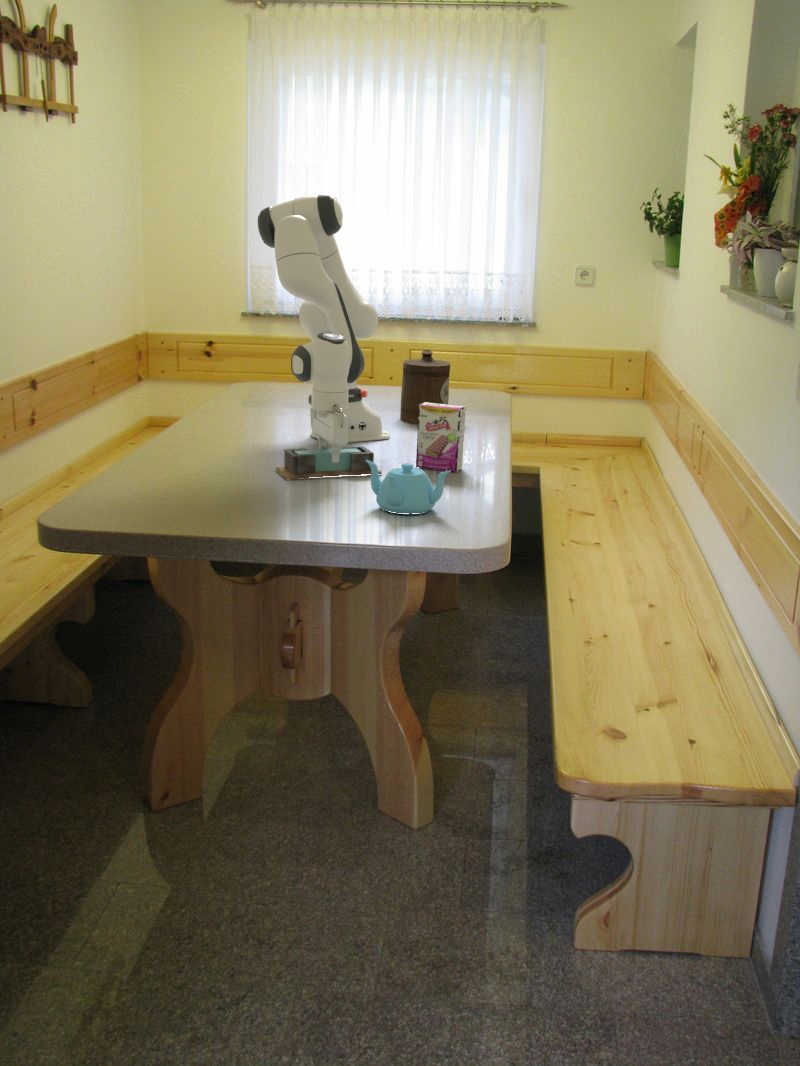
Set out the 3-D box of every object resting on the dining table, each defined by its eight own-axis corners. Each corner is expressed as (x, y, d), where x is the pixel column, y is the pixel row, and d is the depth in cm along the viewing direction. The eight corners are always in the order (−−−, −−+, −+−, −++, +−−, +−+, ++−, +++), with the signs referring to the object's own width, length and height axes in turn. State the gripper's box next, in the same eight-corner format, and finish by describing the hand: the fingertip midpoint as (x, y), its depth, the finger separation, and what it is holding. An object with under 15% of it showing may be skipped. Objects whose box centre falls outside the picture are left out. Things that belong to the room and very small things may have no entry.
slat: (355, 465, 277) (356, 448, 275) (360, 469, 273) (361, 451, 272) (293, 468, 271) (294, 450, 270) (298, 472, 267) (298, 454, 266)
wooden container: (453, 424, 341) (457, 352, 335) (408, 425, 337) (410, 352, 331) (438, 415, 355) (442, 346, 349) (394, 416, 351) (397, 346, 344)
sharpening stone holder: (368, 466, 281) (368, 445, 279) (381, 475, 272) (382, 453, 270) (276, 470, 273) (276, 448, 271) (286, 480, 264) (286, 457, 262)
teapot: (424, 499, 251) (426, 455, 248) (451, 516, 238) (453, 470, 235) (363, 503, 246) (365, 458, 243) (387, 521, 233) (389, 473, 230)
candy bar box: (415, 468, 281) (417, 404, 276) (421, 464, 285) (423, 401, 281) (457, 473, 277) (460, 408, 273) (462, 469, 282) (466, 405, 277)
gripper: (355, 409, 259) (354, 466, 263) (330, 394, 277) (329, 448, 281) (330, 409, 257) (328, 467, 261) (306, 395, 275) (305, 449, 279)
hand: (328, 457), depth 271 cm, fingers open, 8 cm apart
